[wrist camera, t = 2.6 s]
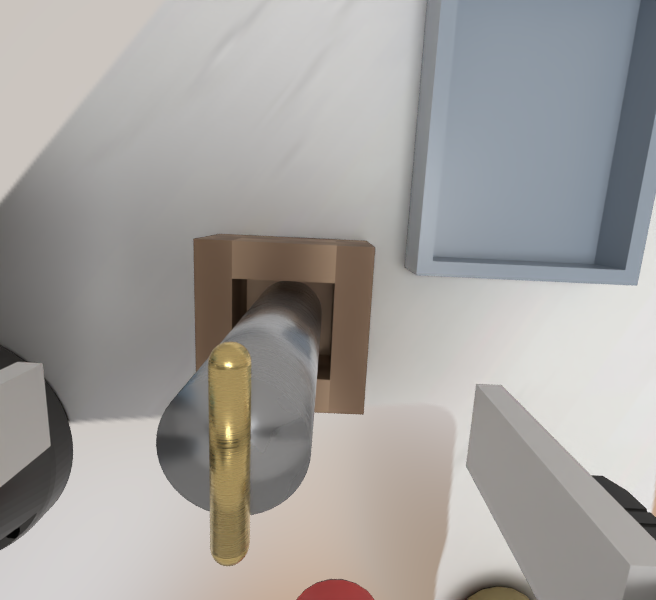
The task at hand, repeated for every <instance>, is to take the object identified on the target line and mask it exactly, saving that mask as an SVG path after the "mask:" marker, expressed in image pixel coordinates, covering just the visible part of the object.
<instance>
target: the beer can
mask: <svg viewBox="0 0 656 600" xmlns="http://www.w3.org/2000/svg"><path fill="white" fill-rule="evenodd" d="M297 600H374V599H373V597H372V596H371V595H370V593H369V592H368V591H367V590H365V589H364V588H362V587H360V586H359V585H357V584H356V583H353V582H350V581H347V580H343V579H329V580H325V581H321V582H317V583H315V584H314V585H312V586H310V587H309V588H307V589H306V590H305V591H303V593H302V594H301V595H300V596H299V597H298V598H297Z"/></svg>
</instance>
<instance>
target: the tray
mask: <svg viewBox="0 0 656 600" xmlns="http://www.w3.org/2000/svg"><path fill="white" fill-rule="evenodd" d="M655 194H656V0H427V10H426V22H425V34H424V45H423V57H422V69H421V81H420V93H419V104H418V116H417V128H416V140H415V152H414V163H413V175H412V187H411V199H410V211H409V222H408V234H407V246H406V258H405V268H407V269H408V270H410V271H411V272H412V273H414V274H415V275H422V276H444V277H465V278H487V279H508V280H529V281H551V282H572V283H594V284H615V285H637V284H638V279H639V274H640V269H641V264H642V259H643V254H644V249H645V244H646V239H647V234H648V229H649V224H650V219H651V214H652V209H653V204H654V199H655Z"/></svg>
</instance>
